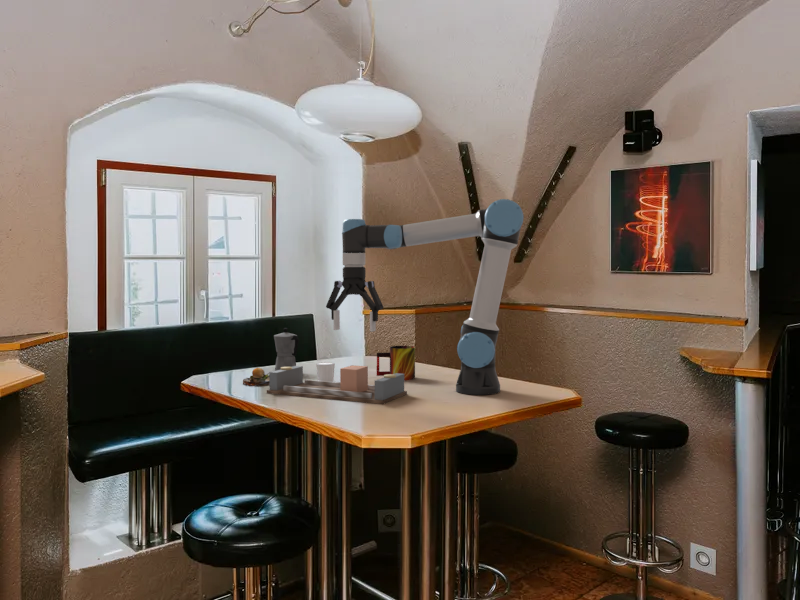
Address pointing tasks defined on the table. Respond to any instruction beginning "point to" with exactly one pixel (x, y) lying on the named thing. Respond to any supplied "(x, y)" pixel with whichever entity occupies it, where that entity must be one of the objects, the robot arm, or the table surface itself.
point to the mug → (400, 361)
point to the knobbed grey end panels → (294, 376)
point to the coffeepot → (285, 349)
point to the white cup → (325, 371)
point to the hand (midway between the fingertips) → (354, 330)
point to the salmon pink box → (354, 378)
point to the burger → (257, 378)
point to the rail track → (332, 392)
